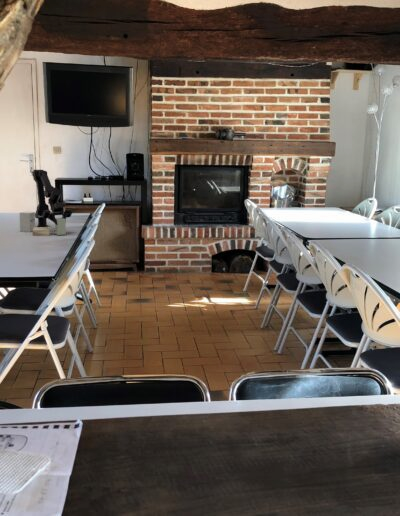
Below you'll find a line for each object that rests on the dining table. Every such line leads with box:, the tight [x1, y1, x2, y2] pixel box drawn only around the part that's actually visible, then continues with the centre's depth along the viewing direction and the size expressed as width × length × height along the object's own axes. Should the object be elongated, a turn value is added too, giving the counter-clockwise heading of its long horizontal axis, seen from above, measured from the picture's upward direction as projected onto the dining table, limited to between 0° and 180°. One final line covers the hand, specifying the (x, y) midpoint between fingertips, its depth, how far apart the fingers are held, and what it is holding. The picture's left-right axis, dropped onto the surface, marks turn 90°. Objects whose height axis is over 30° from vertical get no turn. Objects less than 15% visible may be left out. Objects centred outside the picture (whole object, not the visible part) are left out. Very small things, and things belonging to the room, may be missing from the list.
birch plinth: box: [32, 226, 51, 237], centre depth 346 cm, size 10×10×4 cm
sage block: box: [54, 217, 67, 236], centre depth 347 cm, size 5×5×10 cm
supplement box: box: [19, 211, 36, 233], centre depth 355 cm, size 7×7×13 cm
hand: (61, 224), depth 345 cm, fingers closed on sage block, 5 cm apart
